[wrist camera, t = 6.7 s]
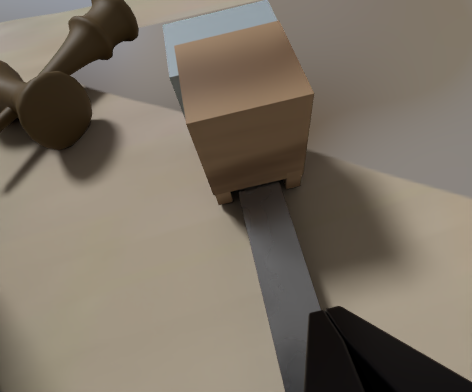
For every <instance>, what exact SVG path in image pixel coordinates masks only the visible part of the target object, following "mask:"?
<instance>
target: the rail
mask: <svg viewBox="0 0 472 392" xmlns="http://www.w3.org/2000/svg"><path fill="white" fill-rule="evenodd" d="M238 194H239V198H240V203H241V207H242V211H243V215H244V219H245V224H246V228H247V232H248V236H249V240H250V245H251V249H252V253H253V257H254V262H255V266H256V270H257V274H258V278H259V283H260V287H261V291H262V295H263V299H264V304H265V308H266V312H267V316H268V321H269V325H270V329H271V333H272V337H273V342H274V346H275V350H276V354H277V359H278V363H279V367H280V371H281V375H282V380H283V384H284V388H285V392H303V391H304V376H305V360H306V345H307V330H308V315H309V313H311V312H315V311H319V310H321V309H320V306H319V302H318V299H317V296H316V293H315V290H314V287H313V284H312V281H311V278H310V275H309V272H308V269H307V266H306V263H305V259H304V256H303V253H302V250H301V247H300V244H299V241H298V238H297V235H296V232H295V229H294V226H293V223H292V220H291V216H290V213H289V210H288V207H287V204H286V201H285V198H284V195H283V192H282V189H281V186H280V183H279V180H278V181H274V182H269V183H265V184H261V185H257V186H252V187H248V188H244V189H240V190H238Z"/></svg>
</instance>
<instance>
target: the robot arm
mask: <svg viewBox="0 0 472 392" xmlns="http://www.w3.org/2000/svg"><path fill="white" fill-rule="evenodd" d="M303 392H472V382H471V381H469V380H467V379H466V378H464V377H462V376H460V375H459V374H457V373H455V372H454V371H452V370H450V369H448V368H447V367H445V366H443V365H441V364H440V363H438V362H436V361H435V360H433V359H431V358H429V357H428V356H426V355H424V354H422V353H421V352H419V351H417V350H416V349H414V348H412V347H410V346H409V345H407V344H405V343H403V342H402V341H400V340H398V339H397V338H395V337H393V336H391V335H390V334H388V333H386V332H384V331H383V330H381V329H379V328H378V327H376V326H374V325H372V324H371V323H369V322H367V321H365V320H364V319H362V318H360V317H358V316H357V315H355V314H353V313H352V312H350V311H348V310H346V309H345V308H343V307H341V306H337V307H332V308H328V309H326V310H325V311H323V310H319V311H315V312H311V313H309V315H308V330H307V345H306V360H305V376H304V391H303Z"/></svg>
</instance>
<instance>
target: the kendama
mask: <svg viewBox="0 0 472 392" xmlns="http://www.w3.org/2000/svg"><path fill="white" fill-rule="evenodd" d="M91 1H92V8H91V9H90V11H89V12H87V13H86V14H85V15H84V16H74V17H72V18H71V19H70V20H69V22H68V23H69V30H70V31H69V34H68V37H67V38H66V40H65V41H64V43H63V44H62V46H61V47H60V49H59V50H58V51H57V53H56V54H55V55H54V56H53V58H52V59H51V60H50V62H49V63H48V64H47V65H46V66H45V68H44V69H43V70H42V71H41V72H40V73H39V75H38V76H37V77H35V78H33V79H32V80H30V81H29V82H27V83H25V82H24V81H23V80H22V78H21V77H20V75H19V74H18V73H17V72H16V71H15V70H14V69H12V68H11V67H10V66H9V65H8V64H7V63H5V62H3V61H0V132H1V131H2V130H4V129H5V128H6V127H7V126H8V125H9V124H10V123H11V122H13V121H14V120H15V119H16V118H19V120H20V124H21V126H22V127H23V128H24V130H25V131H26V132H27V134H28V135H29V136H30V138H31V139H33V140H34V141H36V142H37V143H39V144H40V145H42V146H43V147H46V148H51V149H56V150H61V149H64V148H67V147H70V146H72V145H73V144H74V143H75V142H76V141H77V140H78V139H79V138H80V137H81V136H82V135H83V134H84V132H85V131H86V129H87V128H88V127H89V124H90V121H91V117H92V109H91V102H90V99H89V97H88V95H87V93H86V91H85V89H84V88H83V87H82V86H81V84H80V83H79V82H78V81H77V80H76V79H75V78H73V77H71V76H70V75H71V74H73V73H74V72H76V71H78V70H79V69H81V68H82V67H84V66H85V65H87V64H89V63H91V62H93V61H95V60H98V59H101V60H108V59H110V58H111V57H112V56H113V49H114V47H115V46H116V45H117V44H119V43H120V42H123V41H133V40H134V39H135V38H137V36H138V30H139V28H138V25H137V21H136V17H135V16H134V14H133V12H132V10H131V8H130V7H129V6H128V5H127V4H126V2H125V1H124V0H91Z"/></svg>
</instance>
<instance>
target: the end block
mask: <svg viewBox="0 0 472 392" xmlns="http://www.w3.org/2000/svg"><path fill="white" fill-rule="evenodd" d="M275 21H277V19H276V17H275V15H274V12H273V11H272V8H271V6H270V4H269V2H268V0H264V1H260V2H256V3H251V4H247V5H243V6H239V7H235V8H231V9H227V10H223V11H218V12H214V13H210V14H206V15H202V16H198V17H194V18H190V19H185V20H181V21H178V22H173V23H169V24H165V25H163V32H164V40H165V47H166V55H167V63H168V70H169V77H170V80H171V83H172V85H173V88H174V91H175V93H176V96H177V99H178V101H179V104H180V106H181V109H182V112H183V114H184V117H185V113H184V107H183V100H182V94H181V87H180V81H179V74H178V68H177V62H176V55H175V49H174V46H175V45H179V44H183V43H187V42H192V41H196V40H200V39H204V38H208V37H212V36H216V35H221V34H225V33H229V32H233V31H237V30H241V29H246V28H250V27H254V26H258V25H262V24H266V23H270V22H275ZM185 120H186V119H185Z"/></svg>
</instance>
